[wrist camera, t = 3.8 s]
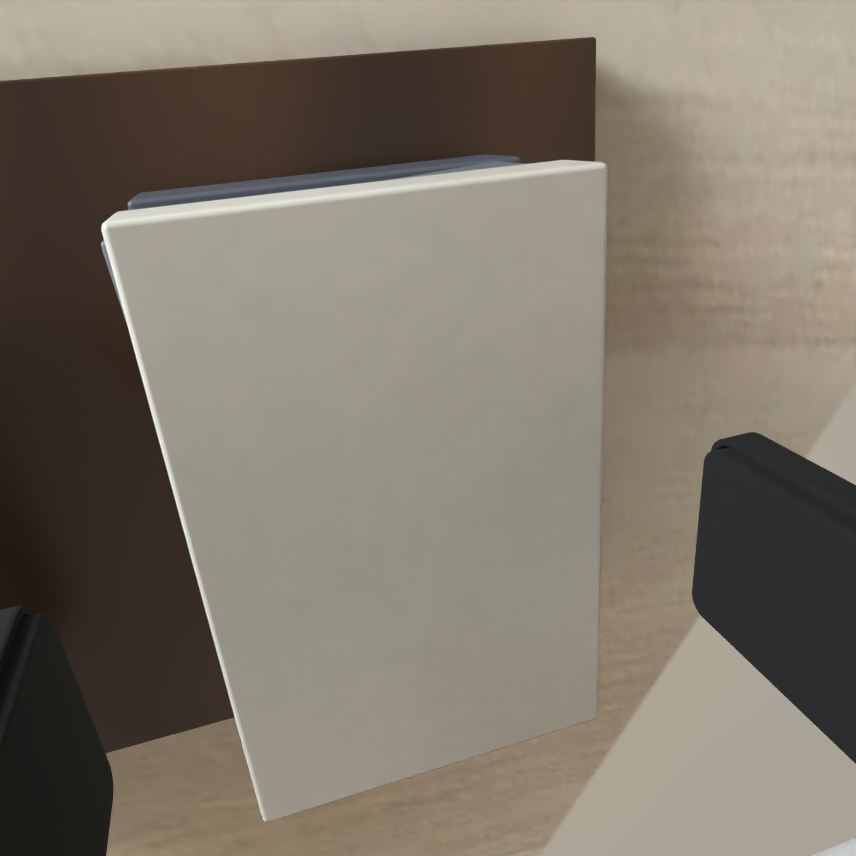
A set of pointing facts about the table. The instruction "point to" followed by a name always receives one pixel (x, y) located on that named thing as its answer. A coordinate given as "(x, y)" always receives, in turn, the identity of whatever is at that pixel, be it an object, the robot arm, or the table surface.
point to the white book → (384, 459)
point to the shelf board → (109, 335)
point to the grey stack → (310, 183)
